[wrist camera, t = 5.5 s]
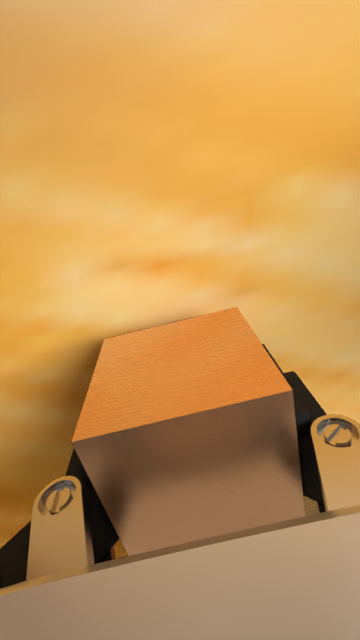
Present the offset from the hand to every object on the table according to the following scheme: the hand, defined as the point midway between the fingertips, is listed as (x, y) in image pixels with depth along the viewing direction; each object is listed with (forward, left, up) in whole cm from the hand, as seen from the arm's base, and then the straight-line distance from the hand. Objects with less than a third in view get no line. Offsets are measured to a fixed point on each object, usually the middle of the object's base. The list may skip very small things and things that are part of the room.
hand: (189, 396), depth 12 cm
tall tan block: (+5, 0, -1) cm, 5 cm away
